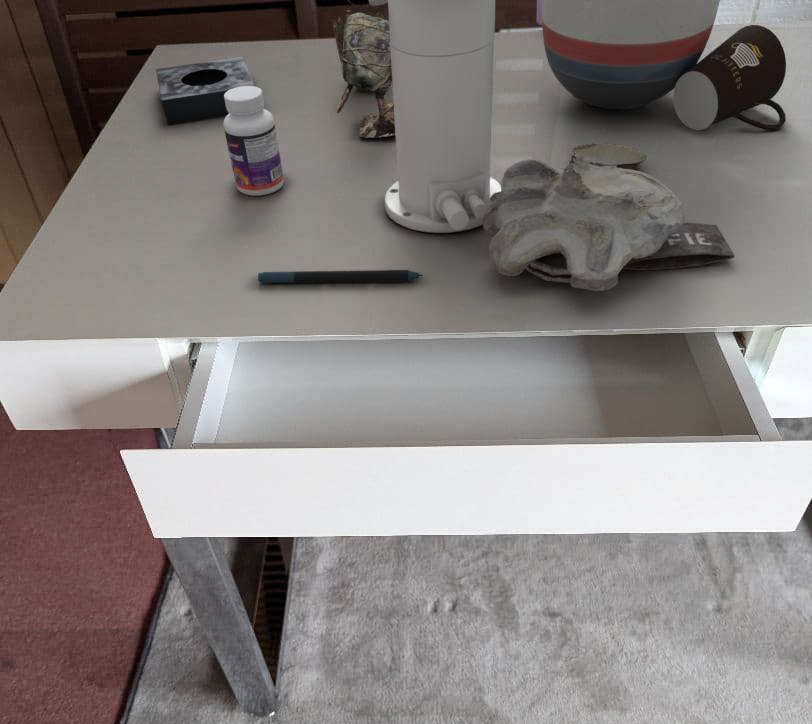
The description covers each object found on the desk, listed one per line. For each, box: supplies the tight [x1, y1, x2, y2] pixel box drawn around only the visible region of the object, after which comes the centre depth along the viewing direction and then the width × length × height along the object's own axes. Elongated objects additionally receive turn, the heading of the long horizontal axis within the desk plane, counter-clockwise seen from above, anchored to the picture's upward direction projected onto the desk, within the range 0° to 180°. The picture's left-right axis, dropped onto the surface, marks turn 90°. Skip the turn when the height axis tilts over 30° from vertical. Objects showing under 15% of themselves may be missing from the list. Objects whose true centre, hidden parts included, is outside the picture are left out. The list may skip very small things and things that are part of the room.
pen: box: [257, 269, 423, 284], centre depth 75 cm, size 16×1×1 cm, turn 86°
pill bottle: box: [223, 85, 285, 197], centre depth 86 cm, size 5×5×10 cm
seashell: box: [571, 142, 647, 169], centre depth 87 cm, size 8×3×8 cm
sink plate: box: [155, 56, 256, 126], centre depth 106 cm, size 12×12×3 cm
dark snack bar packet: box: [525, 222, 735, 284], centre depth 75 cm, size 8×19×2 cm, turn 93°
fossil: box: [482, 154, 686, 292], centre depth 73 cm, size 18×11×15 cm
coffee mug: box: [672, 24, 787, 131], centre depth 92 cm, size 12×9×10 cm
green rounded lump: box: [332, 12, 389, 93], centre depth 105 cm, size 8×7×8 cm
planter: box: [541, 0, 721, 110], centre depth 92 cm, size 20×20×21 cm
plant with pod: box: [335, 9, 395, 139], centre depth 91 cm, size 8×11×20 cm
